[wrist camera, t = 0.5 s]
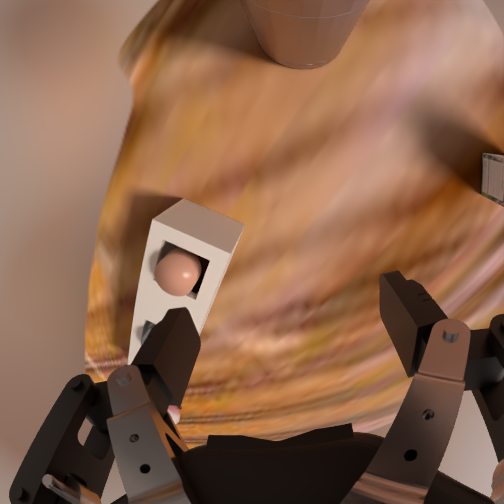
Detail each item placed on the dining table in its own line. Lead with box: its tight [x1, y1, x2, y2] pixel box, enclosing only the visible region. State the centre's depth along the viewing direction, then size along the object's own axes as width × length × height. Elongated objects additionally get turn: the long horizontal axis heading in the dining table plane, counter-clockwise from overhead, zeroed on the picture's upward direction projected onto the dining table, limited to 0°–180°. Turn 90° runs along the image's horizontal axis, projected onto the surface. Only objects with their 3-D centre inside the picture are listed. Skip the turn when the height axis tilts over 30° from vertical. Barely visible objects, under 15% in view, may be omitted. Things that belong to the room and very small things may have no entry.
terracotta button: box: [155, 248, 202, 296], centre depth 26 cm, size 4×4×2 cm
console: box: [128, 198, 245, 406], centre depth 35 cm, size 30×8×8 cm, turn 158°
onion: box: [167, 405, 182, 425], centre depth 48 cm, size 8×8×7 cm
